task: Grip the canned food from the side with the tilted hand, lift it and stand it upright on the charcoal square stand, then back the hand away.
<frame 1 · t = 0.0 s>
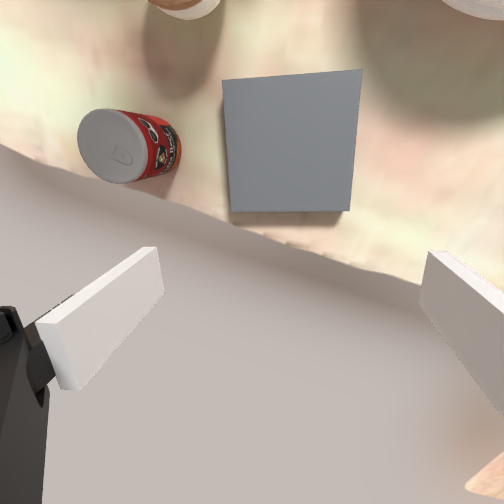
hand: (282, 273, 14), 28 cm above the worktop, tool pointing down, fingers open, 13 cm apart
canned food: (157, 146, 40), on the worktop
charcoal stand: (289, 148, 38), on the worktop
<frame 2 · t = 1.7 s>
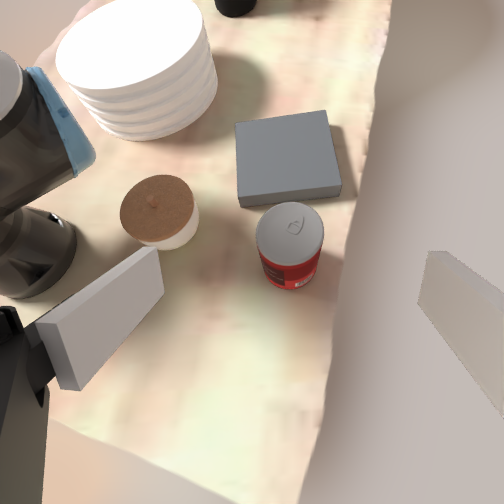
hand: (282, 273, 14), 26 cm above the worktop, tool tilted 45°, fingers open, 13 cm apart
canned food: (289, 265, 41), on the worktop
lidded jar: (176, 230, 46), on the worktop
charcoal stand: (284, 163, 49), on the worktop
plate stack: (156, 93, 61), on the worktop
coffee jar: (237, 6, 71), on the worktop
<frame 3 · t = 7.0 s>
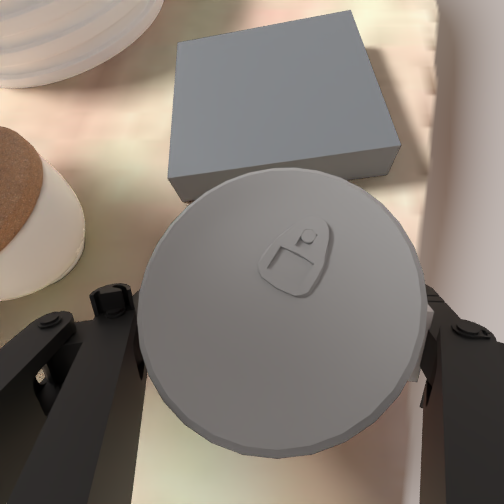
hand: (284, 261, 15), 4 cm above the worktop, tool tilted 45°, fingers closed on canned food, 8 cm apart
canned food: (284, 335, 18), on the worktop, touching gripper
lidded jar: (51, 251, 23), on the worktop
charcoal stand: (271, 116, 25), on the worktop
plate stack: (67, 20, 38), on the worktop
when the fingers open (8 cm above the worktop, at t = 12.4 s): canned food drops 1 cm, resting on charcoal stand.
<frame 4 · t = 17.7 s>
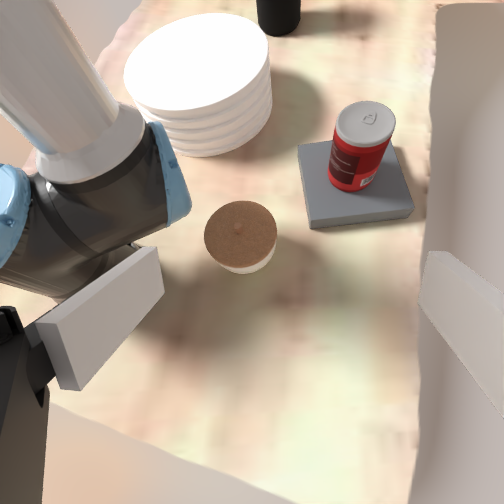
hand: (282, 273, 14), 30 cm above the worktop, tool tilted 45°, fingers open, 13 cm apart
canned food: (349, 175, 47), point 3 cm above the worktop, touching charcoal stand
lidded jar: (247, 252, 47), on the worktop
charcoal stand: (348, 184, 50), on the worktop
plate stack: (210, 110, 63), on the worktop
coffee jar: (279, 25, 72), on the worktop
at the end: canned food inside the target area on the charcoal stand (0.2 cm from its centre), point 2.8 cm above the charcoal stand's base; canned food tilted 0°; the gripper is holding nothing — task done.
